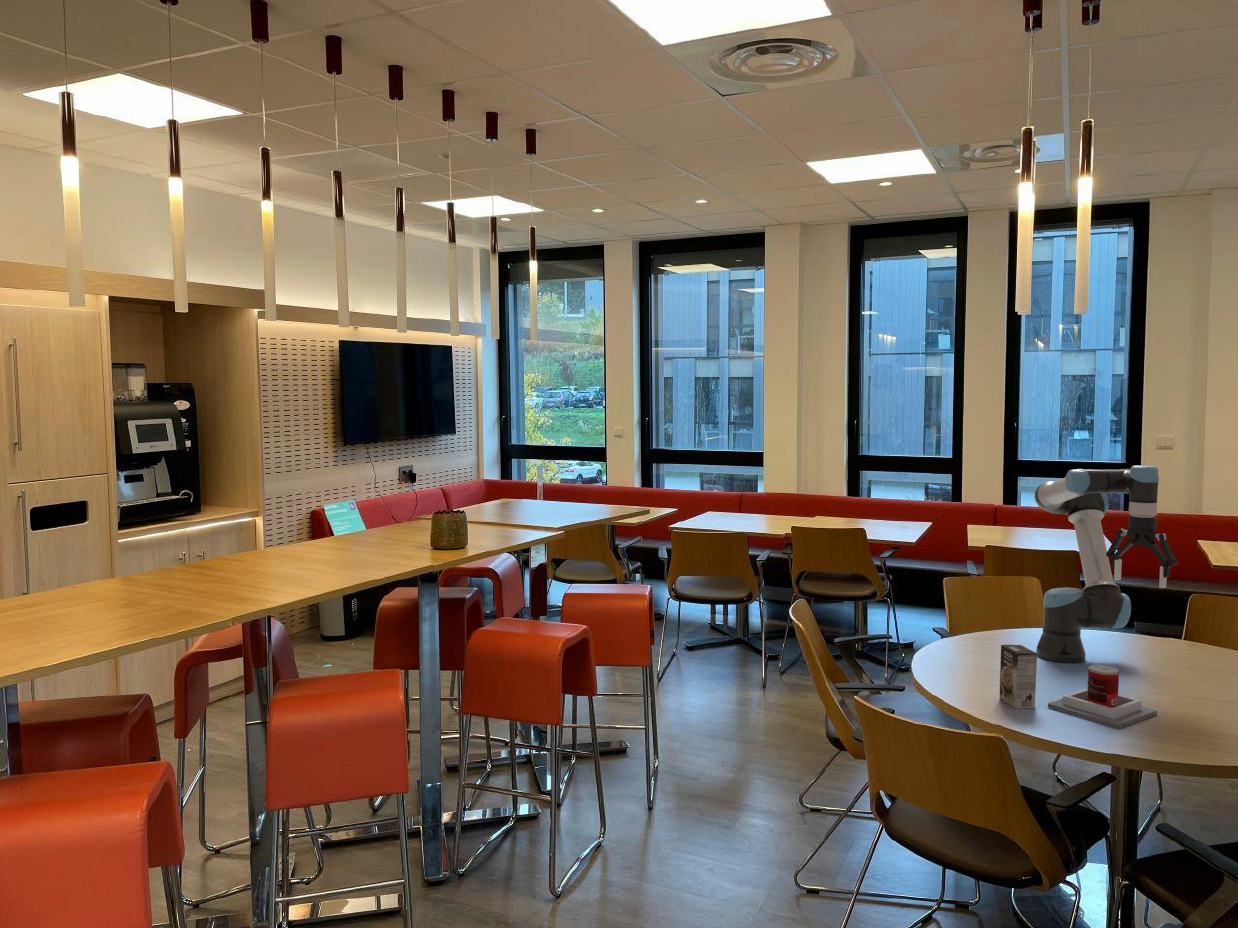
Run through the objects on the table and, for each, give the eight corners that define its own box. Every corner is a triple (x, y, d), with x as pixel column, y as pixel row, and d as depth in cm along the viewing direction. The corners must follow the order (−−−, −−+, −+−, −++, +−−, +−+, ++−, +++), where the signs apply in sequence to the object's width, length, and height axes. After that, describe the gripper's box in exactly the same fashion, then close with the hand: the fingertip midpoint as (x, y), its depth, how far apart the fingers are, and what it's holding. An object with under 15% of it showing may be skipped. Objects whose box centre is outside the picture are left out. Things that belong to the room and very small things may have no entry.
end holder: (1047, 707, 257) (1048, 694, 257) (1086, 694, 268) (1086, 682, 268) (1118, 728, 241) (1119, 715, 240) (1156, 714, 252) (1157, 701, 251)
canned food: (1114, 703, 257) (1116, 665, 256) (1120, 712, 250) (1121, 673, 249) (1084, 700, 260) (1086, 663, 259) (1089, 709, 252) (1090, 671, 251)
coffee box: (998, 698, 265) (999, 644, 264) (1019, 697, 266) (1021, 643, 265) (1014, 708, 256) (1016, 652, 255) (1036, 708, 257) (1038, 652, 256)
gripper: (1192, 519, 270) (1188, 589, 271) (1108, 510, 291) (1105, 576, 292) (1179, 521, 266) (1176, 592, 267) (1095, 512, 287) (1093, 578, 288)
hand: (1139, 583), depth 280 cm, fingers open, 13 cm apart
